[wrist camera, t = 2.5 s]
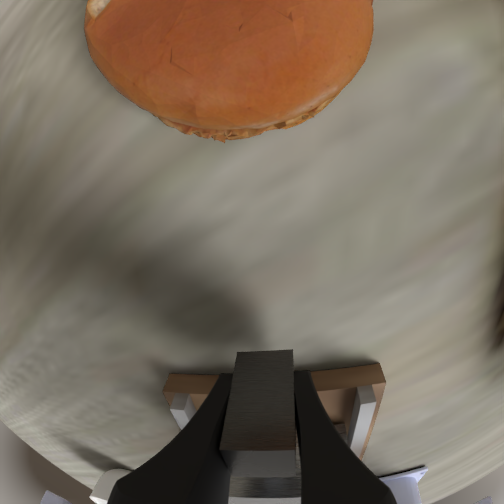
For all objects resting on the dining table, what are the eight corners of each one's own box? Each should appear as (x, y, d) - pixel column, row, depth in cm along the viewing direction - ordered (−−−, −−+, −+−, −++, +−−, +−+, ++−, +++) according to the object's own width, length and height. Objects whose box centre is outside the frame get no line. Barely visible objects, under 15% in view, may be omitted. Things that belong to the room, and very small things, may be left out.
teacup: (98, 467, 26) (85, 498, 21) (111, 455, 23) (95, 493, 18) (166, 499, 28) (158, 530, 23) (192, 491, 25) (183, 528, 20)
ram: (340, 447, 15) (346, 512, 11) (218, 450, 16) (206, 513, 12) (356, 343, 12) (382, 439, 7) (177, 352, 13) (142, 440, 8)
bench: (350, 471, 20) (355, 520, 15) (220, 475, 22) (211, 523, 17) (379, 363, 15) (404, 443, 10) (169, 373, 16) (140, 448, 11)
